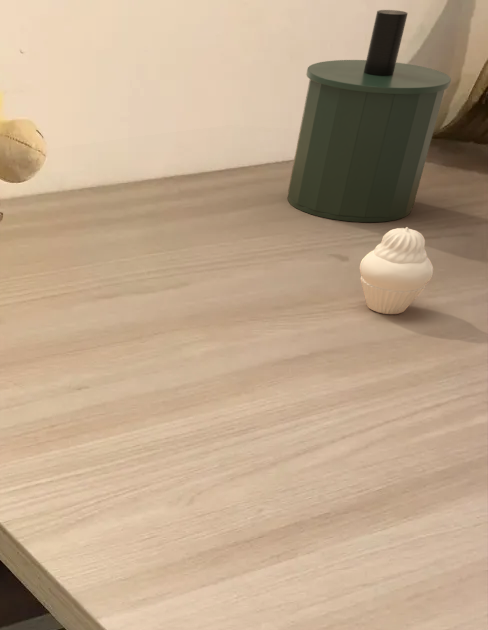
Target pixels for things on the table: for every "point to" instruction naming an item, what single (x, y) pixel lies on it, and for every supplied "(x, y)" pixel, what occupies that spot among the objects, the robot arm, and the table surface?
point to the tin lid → (381, 65)
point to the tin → (361, 153)
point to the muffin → (395, 271)
